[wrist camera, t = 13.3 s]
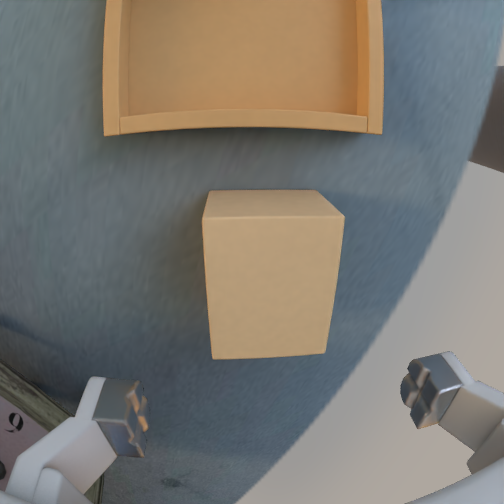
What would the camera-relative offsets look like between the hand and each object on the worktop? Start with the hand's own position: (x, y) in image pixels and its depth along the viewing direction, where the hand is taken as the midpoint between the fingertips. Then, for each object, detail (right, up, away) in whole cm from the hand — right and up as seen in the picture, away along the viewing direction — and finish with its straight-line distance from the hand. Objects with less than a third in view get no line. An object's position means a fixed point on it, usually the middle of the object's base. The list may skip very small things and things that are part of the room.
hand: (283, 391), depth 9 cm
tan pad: (0, +4, +9) cm, 10 cm away
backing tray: (-1, +19, +2) cm, 19 cm away
